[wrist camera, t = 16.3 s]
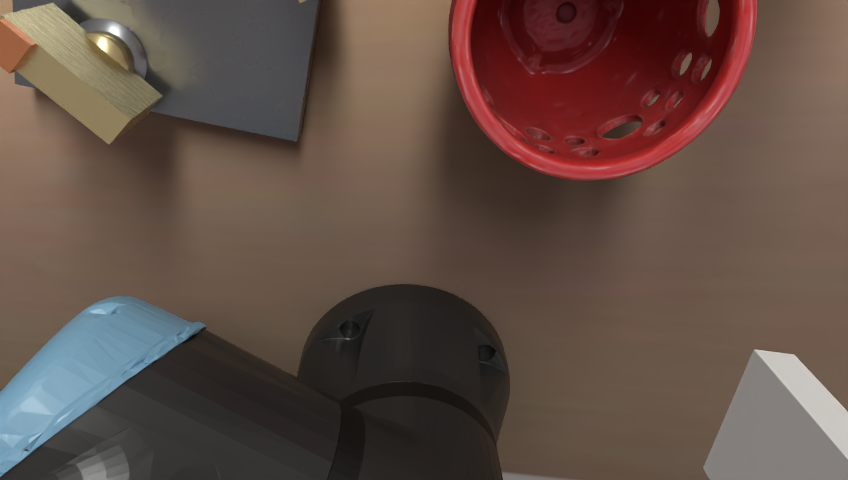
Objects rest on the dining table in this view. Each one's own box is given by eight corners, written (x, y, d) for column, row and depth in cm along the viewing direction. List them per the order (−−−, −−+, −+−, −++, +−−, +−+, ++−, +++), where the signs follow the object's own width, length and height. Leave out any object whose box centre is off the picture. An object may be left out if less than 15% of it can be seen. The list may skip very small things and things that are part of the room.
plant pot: (702, -82, 38) (822, -82, 27) (613, 140, 43) (683, 215, 32) (477, -155, 36) (508, -185, 25) (413, 86, 41) (416, 147, 31)
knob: (174, 84, 39) (134, 113, 33) (140, 123, 40) (96, 158, 34) (66, -9, 36) (3, 5, 31) (33, 35, 37) (-34, 56, 32)
